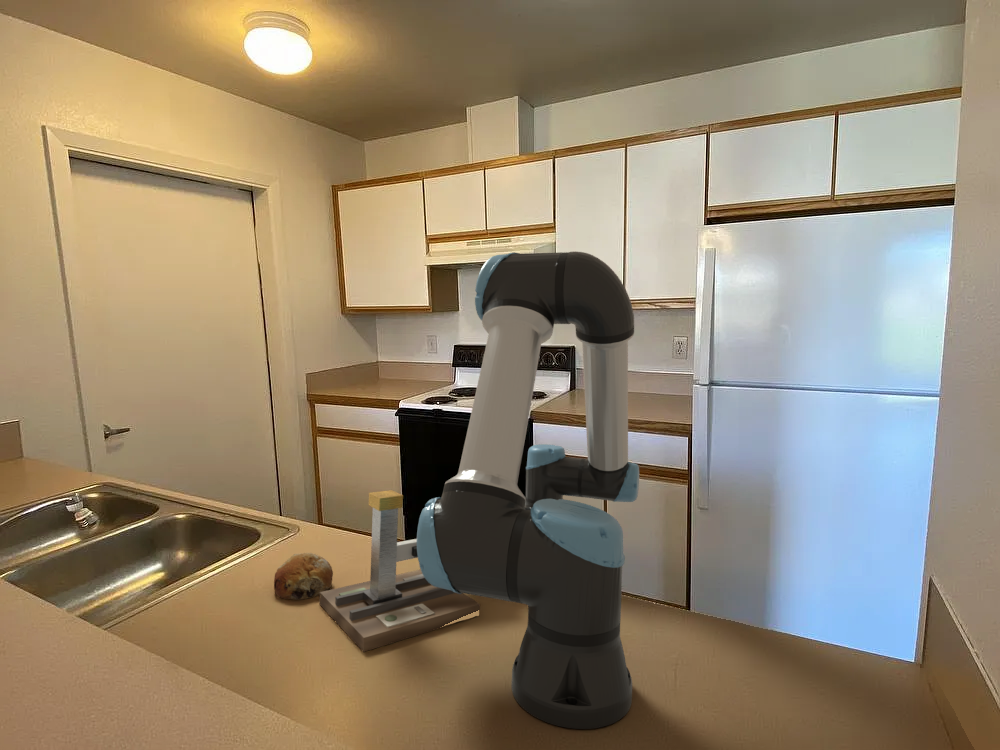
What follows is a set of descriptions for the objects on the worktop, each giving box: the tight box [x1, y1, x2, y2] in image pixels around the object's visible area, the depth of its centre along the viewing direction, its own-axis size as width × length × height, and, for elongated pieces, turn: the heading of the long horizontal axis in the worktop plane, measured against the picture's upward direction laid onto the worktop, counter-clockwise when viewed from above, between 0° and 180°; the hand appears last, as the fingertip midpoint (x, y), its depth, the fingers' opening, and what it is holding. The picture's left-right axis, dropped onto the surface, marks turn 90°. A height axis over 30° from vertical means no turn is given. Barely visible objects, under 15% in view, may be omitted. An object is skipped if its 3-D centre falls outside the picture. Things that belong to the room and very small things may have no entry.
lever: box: [363, 489, 404, 605], centre depth 88 cm, size 4×5×17 cm
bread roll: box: [273, 552, 334, 601], centre depth 97 cm, size 10×10×8 cm
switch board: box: [319, 569, 481, 653], centre depth 90 cm, size 18×20×3 cm
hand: (391, 553), depth 90 cm, fingers closed
